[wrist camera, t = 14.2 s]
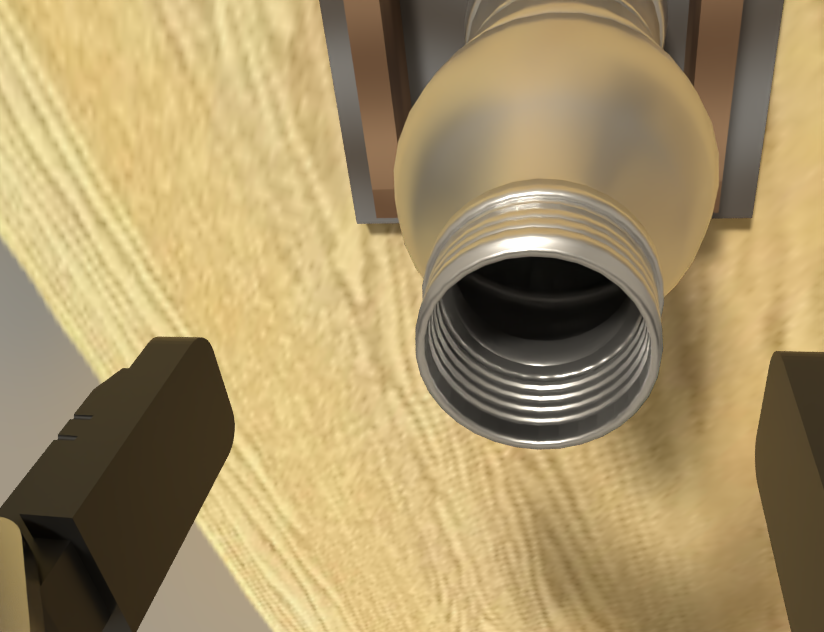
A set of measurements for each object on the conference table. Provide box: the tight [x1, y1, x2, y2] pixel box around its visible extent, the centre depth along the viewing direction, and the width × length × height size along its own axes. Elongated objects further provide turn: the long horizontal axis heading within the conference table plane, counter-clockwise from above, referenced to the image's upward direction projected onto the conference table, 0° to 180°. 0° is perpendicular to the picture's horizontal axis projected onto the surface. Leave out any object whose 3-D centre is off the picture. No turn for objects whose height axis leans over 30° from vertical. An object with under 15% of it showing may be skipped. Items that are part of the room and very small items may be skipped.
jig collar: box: [319, 0, 784, 224], centre depth 27 cm, size 16×16×4 cm
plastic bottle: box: [394, 0, 719, 449], centre depth 19 cm, size 6×7×20 cm
